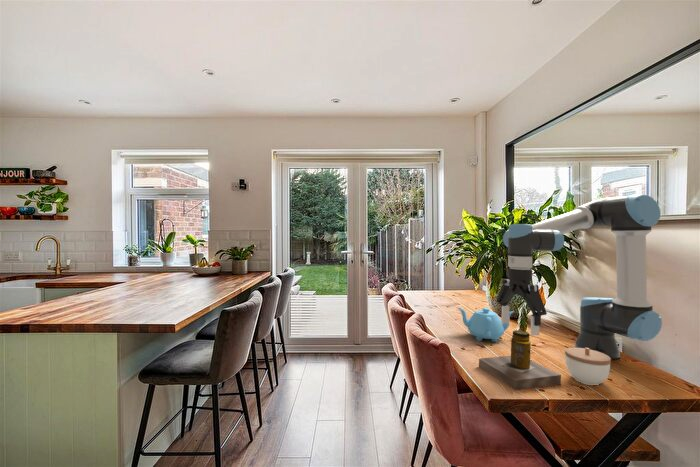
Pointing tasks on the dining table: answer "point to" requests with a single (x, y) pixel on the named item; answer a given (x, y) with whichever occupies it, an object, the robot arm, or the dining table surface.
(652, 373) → the dining table surface
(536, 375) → the grey flat square piece
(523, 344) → the condiment
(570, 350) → the lidded bowl
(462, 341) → the dining table surface
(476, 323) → the teapot
